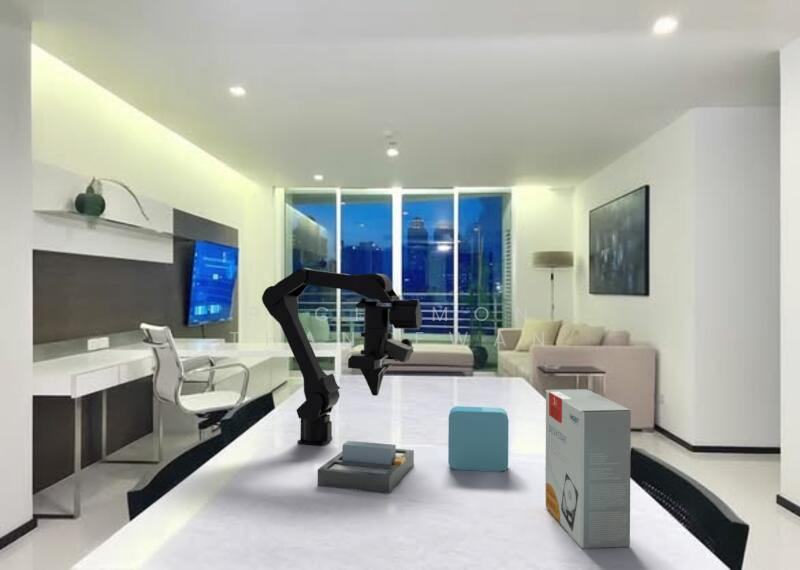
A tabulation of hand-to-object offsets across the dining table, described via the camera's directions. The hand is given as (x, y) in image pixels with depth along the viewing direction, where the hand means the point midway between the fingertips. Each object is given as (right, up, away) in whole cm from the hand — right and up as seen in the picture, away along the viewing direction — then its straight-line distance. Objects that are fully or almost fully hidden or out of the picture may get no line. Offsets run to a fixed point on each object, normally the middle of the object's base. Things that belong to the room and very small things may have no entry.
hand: (375, 395), depth 132 cm
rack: (0, -12, -20) cm, 23 cm away
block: (0, -12, -20) cm, 23 cm away
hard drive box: (+34, -12, -43) cm, 56 cm away
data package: (+22, -12, -15) cm, 29 cm away
